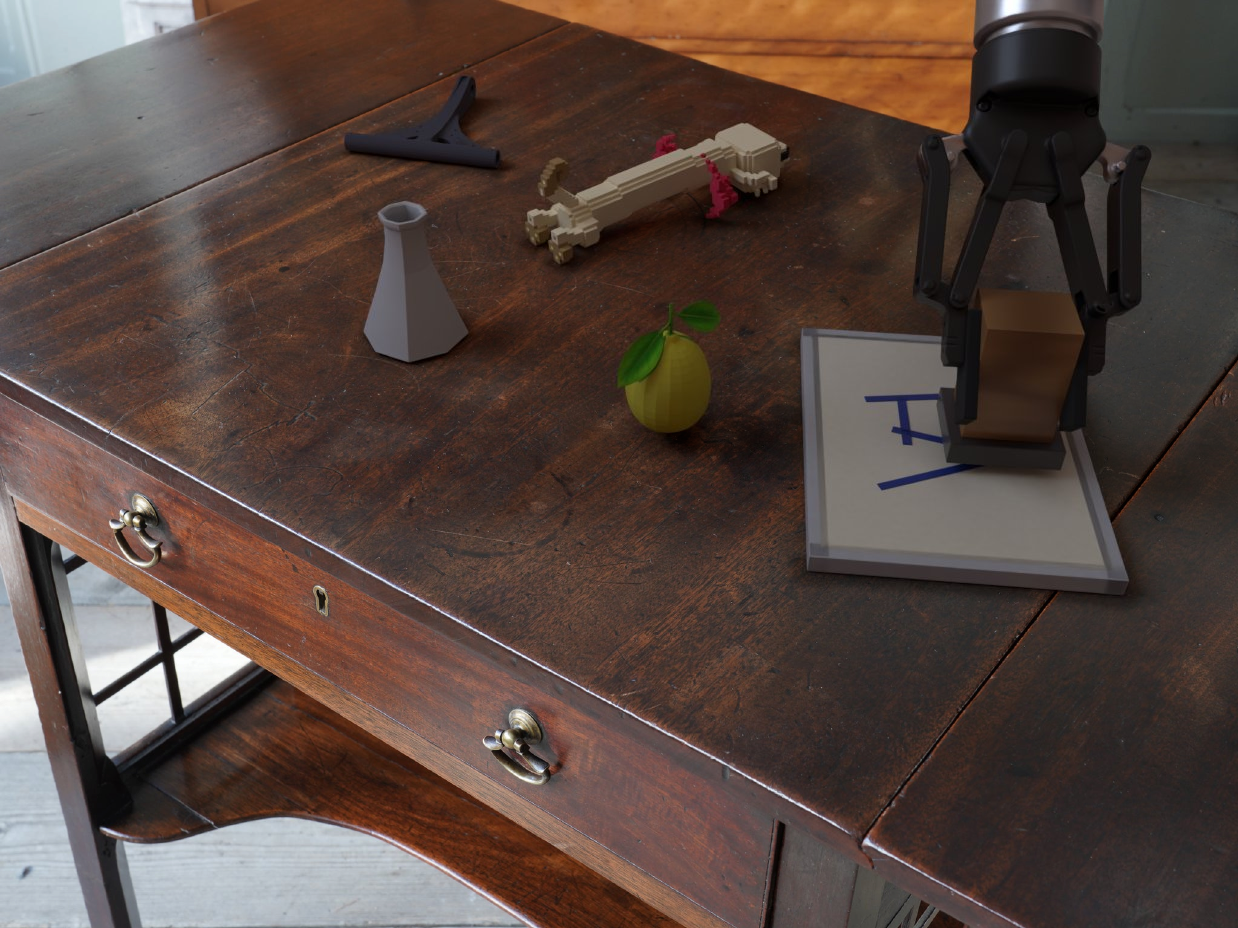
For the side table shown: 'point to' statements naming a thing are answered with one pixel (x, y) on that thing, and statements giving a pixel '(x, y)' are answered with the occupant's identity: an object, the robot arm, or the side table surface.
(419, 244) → the flask
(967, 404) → the robot arm
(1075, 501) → the board
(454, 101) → the bracket
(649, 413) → the lemon
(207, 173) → the side table surface
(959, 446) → the eraser
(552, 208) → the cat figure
